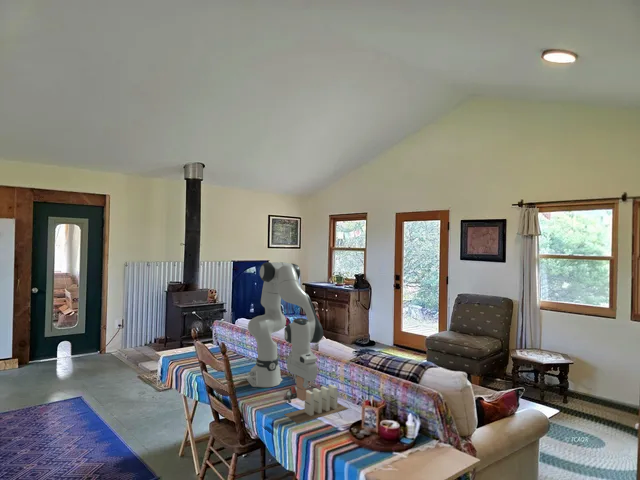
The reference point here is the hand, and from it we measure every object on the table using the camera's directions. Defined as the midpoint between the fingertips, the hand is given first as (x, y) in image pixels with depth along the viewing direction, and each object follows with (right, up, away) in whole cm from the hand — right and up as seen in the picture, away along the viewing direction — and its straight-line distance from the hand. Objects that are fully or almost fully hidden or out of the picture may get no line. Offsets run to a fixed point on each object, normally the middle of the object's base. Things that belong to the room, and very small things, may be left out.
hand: (301, 385), depth 193 cm
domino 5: (+15, -14, +10) cm, 23 cm away
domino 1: (0, -6, 0) cm, 6 cm away
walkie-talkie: (-4, -16, +26) cm, 30 cm away
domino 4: (+11, -14, +8) cm, 19 cm away
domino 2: (+3, -14, +3) cm, 15 cm away
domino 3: (+7, -14, +5) cm, 16 cm away
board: (+7, -15, +5) cm, 17 cm away
